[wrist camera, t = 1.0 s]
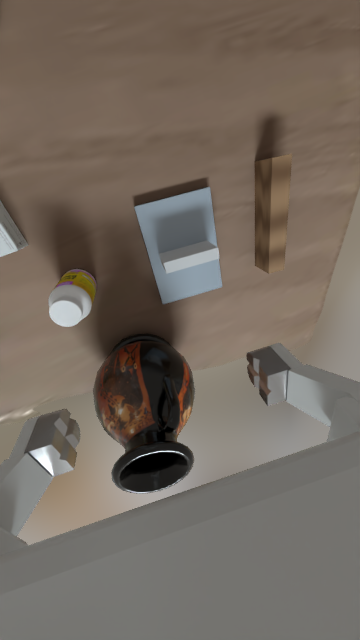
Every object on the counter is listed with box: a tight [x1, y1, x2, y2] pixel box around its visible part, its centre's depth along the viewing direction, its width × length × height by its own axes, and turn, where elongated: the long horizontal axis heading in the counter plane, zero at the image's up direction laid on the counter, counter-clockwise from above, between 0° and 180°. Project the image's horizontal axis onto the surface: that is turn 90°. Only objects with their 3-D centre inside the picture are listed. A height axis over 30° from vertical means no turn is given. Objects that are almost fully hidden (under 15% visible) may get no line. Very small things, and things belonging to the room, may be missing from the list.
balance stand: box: [134, 187, 222, 304], centre depth 43 cm, size 20×14×8 cm
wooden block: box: [255, 154, 292, 274], centre depth 45 cm, size 20×4×6 cm, turn 11°
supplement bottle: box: [48, 269, 97, 327], centre depth 40 cm, size 7×7×13 cm
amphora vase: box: [93, 334, 195, 493], centre depth 47 cm, size 22×22×28 cm
